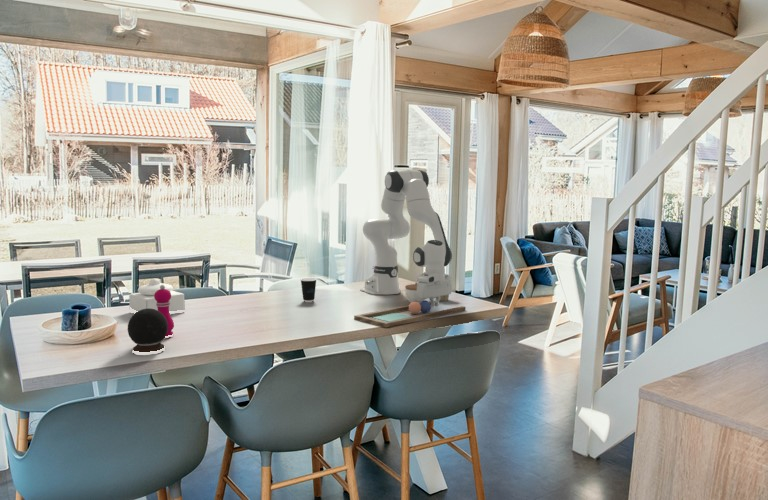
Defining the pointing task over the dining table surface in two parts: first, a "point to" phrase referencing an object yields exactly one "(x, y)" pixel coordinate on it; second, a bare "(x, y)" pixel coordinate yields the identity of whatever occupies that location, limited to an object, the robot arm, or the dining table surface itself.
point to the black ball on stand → (147, 330)
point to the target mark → (391, 317)
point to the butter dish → (148, 301)
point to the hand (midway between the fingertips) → (434, 306)
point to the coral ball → (414, 307)
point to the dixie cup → (308, 289)
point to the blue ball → (425, 306)
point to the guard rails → (367, 318)
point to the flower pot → (444, 297)
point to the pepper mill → (164, 306)
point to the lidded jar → (412, 293)
